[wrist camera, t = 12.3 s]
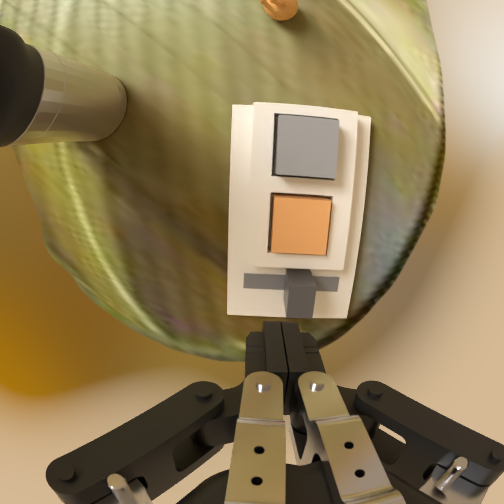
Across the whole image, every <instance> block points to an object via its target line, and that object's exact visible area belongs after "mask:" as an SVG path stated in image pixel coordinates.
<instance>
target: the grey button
mask: <svg viewBox="0 0 504 504" xmlns="http://www.w3.org/2000/svg"><path fill="white" fill-rule="evenodd" d="M338 139H339V120H333V119H324V118H314V117H304V116H292V115H279V116H278V119H277V141H276V162H275V173H276V174H280V175H295V176H309V177H322V178H333V179H336V170H337V156H338Z"/></svg>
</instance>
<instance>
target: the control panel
mask: <svg viewBox="0 0 504 504" xmlns="http://www.w3.org/2000/svg"><path fill="white" fill-rule="evenodd" d="M279 115H292V116H304V117H314V118H324V119H333V120H339V139H338V156H337V170H336V179H333V178H322V177H309V176H295V175H280V174H276V173H275V162H276V141H277V119H278V116H279ZM370 125H371V117H367V116H361V115H358V112H356V111H349V110H342V109H334V108H325V107H316V106H306V105H295V104H282V103H264V102H254V104H253V105H233V107H232V131H231V157H230V188H229V227H228V286H227V314H228V315H246V316H268V317H286V314H285V307H284V299H283V295H284V284H285V273H286V268H291V269H310V270H311V273H312V275H313V278H314V280H315V283H316V286H317V289H316V296H315V304H314V311H313V317H312V318H347V314H348V308H349V303H350V298H351V292H352V287H353V281H354V275H355V269H356V263H357V256H358V250H359V243H360V235H361V228H362V220H363V212H364V203H365V193H366V183H367V172H368V159H369V144H370ZM273 193H280V194H297V195H312V196H325V197H327V198H328V199H329V200H330V201H331V208H330V219H329V228H328V238H327V246H326V255H315V254H294V253H273V252H271V245H270V242H271V225H272V208H273Z"/></svg>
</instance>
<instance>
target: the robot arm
mask: <svg viewBox="0 0 504 504" xmlns="http://www.w3.org/2000/svg"><path fill="white" fill-rule="evenodd" d="M126 107H127V95H126V91H125V88H124V86H123V84H122V83H121V82H120V81H119V80H118V79H117V78H115V77H114V76H112V75H109V74H107V73H105V72H102V71H100V70H98V69H95V68H93V67H90V66H88V65H85V64H82V63H80V62H77V61H74V60H72V59H69V58H66V57H64V56H61V55H58V54H55V53H52V52H50V51H46V50H43V49H40V48H37V47H34V46H31V45H28V44H25V43H24V41H23V40H22V38H21V37H20V36H19V35H18V34H17V33H16V32H14V31H13V30H11V29H9V28H6V27H4V26H1V25H0V147H4V146H14V145H25V144H36V143H53V142H81V141H98V140H101V139H104V138H106V137H108V136H109V135H111V134H112V133H113V132H114V131H115V130H116V129H117V128H118V126H119V125H120V123H121V122H122V120H123V118H124V115H125V112H126ZM317 347H318V346H317V343H316V340H315V338H314V337H313V336H312V335H311V334H309V333H300V330H299V326H298V323H297V322H288V321H281V322H280V321H263V328H262V332H251V333H250V334H249V335H248V336H247V338H246V356H245V379H244V381H243V382H242V383H241V384H240V385H238V386H236V387H234V388H230V389H225V390H222V388H221V387H220V386H218V385H217V384H215V383H212V382H206V381H201V382H195V383H192V384H191V385H189V386H187V387H185V388H184V389H182V390H181V391H179V392H177V393H176V394H174V395H172V396H171V397H169V398H168V399H166V400H164V401H162V402H161V403H159V404H157V405H156V406H154V407H152V408H151V409H149V410H147V411H146V412H144V413H142V414H140V415H139V416H137V417H135V418H134V419H132V420H130V421H128V422H126V423H124V424H123V425H121V426H119V427H117V428H116V429H114V430H112V431H110V432H108V433H107V434H105V435H103V436H101V437H99V438H97V439H95V440H93V441H91V442H89V443H87V444H85V445H83V446H81V447H79V448H78V449H76V450H74V451H72V452H70V453H68V454H66V455H63V456H61V457H59V458H57V459H55V460H54V461H52V462H51V463H50V465H49V466H48V467H47V470H46V479H47V482H48V484H49V486H50V487H51V488H52V489H53V490H54V491H55V493H56V494H57V495H58V497H59V498H60V500H61V501H62V502H63V503H64V504H152V500H154V499H155V498H157V497H158V496H160V495H161V494H162V493H164V492H165V491H167V490H168V489H170V488H171V487H172V486H174V485H175V484H177V483H178V482H179V481H181V480H182V479H184V478H185V477H186V476H187V475H189V474H190V473H192V472H193V471H194V470H196V469H197V468H198V467H200V466H201V465H202V464H203V463H205V462H206V461H207V460H209V459H210V458H211V457H212V456H213V455H215V454H216V453H217V452H218V451H220V449H222V448H223V446H224V444H227V443H232V442H234V444H233V451H232V457H231V464H230V469H229V470H225V471H222V472H219V473H217V474H215V475H213V476H211V477H209V478H207V479H206V480H204V481H203V482H202V483H201V484H199V485H198V486H197V487H196V488H195V489H193V490H192V491H191V492H190V493H189V494H187V495H186V496H185V497H184V498H182V499H181V500H180V501H179V502H177V503H176V504H481V502H482V500H483V498H484V496H485V494H486V492H487V490H488V488H489V487H490V486H491V485H492V484H493V483H494V481H496V480H497V478H498V477H499V476H500V475H501V474H502V473H503V472H504V445H502V444H501V443H499V442H496V441H494V440H492V439H490V438H488V437H486V436H484V435H482V434H480V433H477V432H476V431H473V430H471V429H469V428H467V427H465V426H463V425H461V424H459V423H457V422H455V421H453V420H451V419H449V418H447V417H445V416H443V415H441V414H440V413H438V412H436V411H434V410H432V409H430V408H428V407H426V406H424V405H422V404H420V403H418V402H417V401H415V400H413V399H411V398H409V397H407V396H405V395H404V394H402V393H400V392H398V391H396V390H394V389H392V388H391V387H389V386H387V385H385V384H383V383H381V382H378V381H366V382H363V383H361V384H360V385H359V386H358V388H357V390H356V389H349V388H344V387H340V386H338V385H336V383H335V381H334V379H333V378H332V377H331V376H329V375H328V374H326V372H325V369H324V365H323V362H322V359H321V356H320V354H319V349H318V348H317ZM283 415H290V419H291V421H290V426H289V432H290V436H291V440H292V445H293V449H294V454H295V458H296V462H297V465H291V464H286V459H285V458H286V449H285V448H286V446H285V445H286V444H285V442H286V441H285V440H286V439H285V421H283ZM380 424H381V425H383V426H385V427H387V428H388V429H390V430H392V431H393V432H395V433H397V434H398V435H400V436H402V437H403V438H404V439H405V441H406V444H405V443H402V442H401V441H399V440H397V439H396V438H394V437H392V436H391V435H389V434H387V433H386V432H384V431H382V430H381V429H379V426H380Z"/></svg>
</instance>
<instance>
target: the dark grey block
mask: <svg viewBox="0 0 504 504" xmlns="http://www.w3.org/2000/svg"><path fill="white" fill-rule="evenodd" d="M316 289H317V286H316V283H315V280H314V278H313V275H312V273H311V270H310V269H291V268H286V273H285V284H284V295H283V299H284V307H285V314H286V318H312V317H313V311H314V304H315V296H316Z"/></svg>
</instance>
